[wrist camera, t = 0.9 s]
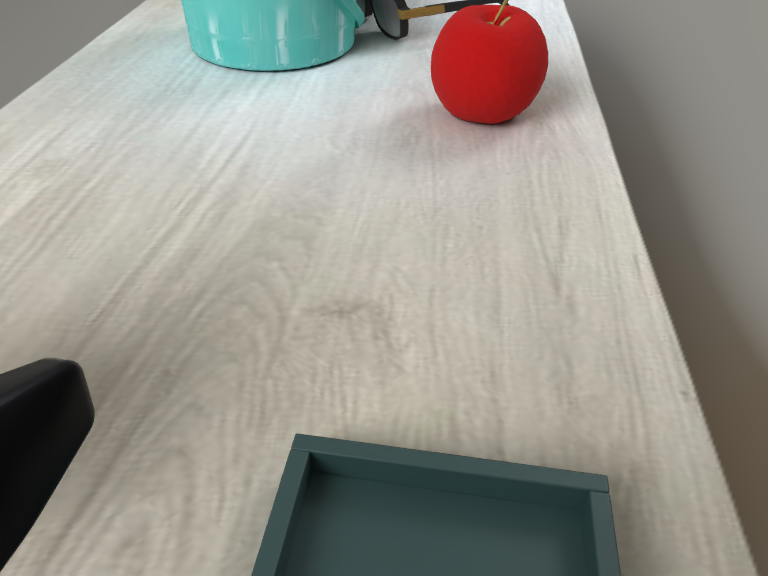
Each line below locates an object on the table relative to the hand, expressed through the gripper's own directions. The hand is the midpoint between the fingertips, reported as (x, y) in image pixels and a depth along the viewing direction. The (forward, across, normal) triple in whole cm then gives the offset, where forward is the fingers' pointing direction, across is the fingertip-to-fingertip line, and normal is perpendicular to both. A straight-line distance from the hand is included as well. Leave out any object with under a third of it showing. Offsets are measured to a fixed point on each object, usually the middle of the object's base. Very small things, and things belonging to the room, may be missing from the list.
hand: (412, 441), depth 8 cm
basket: (+60, +28, +4) cm, 66 cm away
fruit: (+50, +5, +8) cm, 50 cm away
